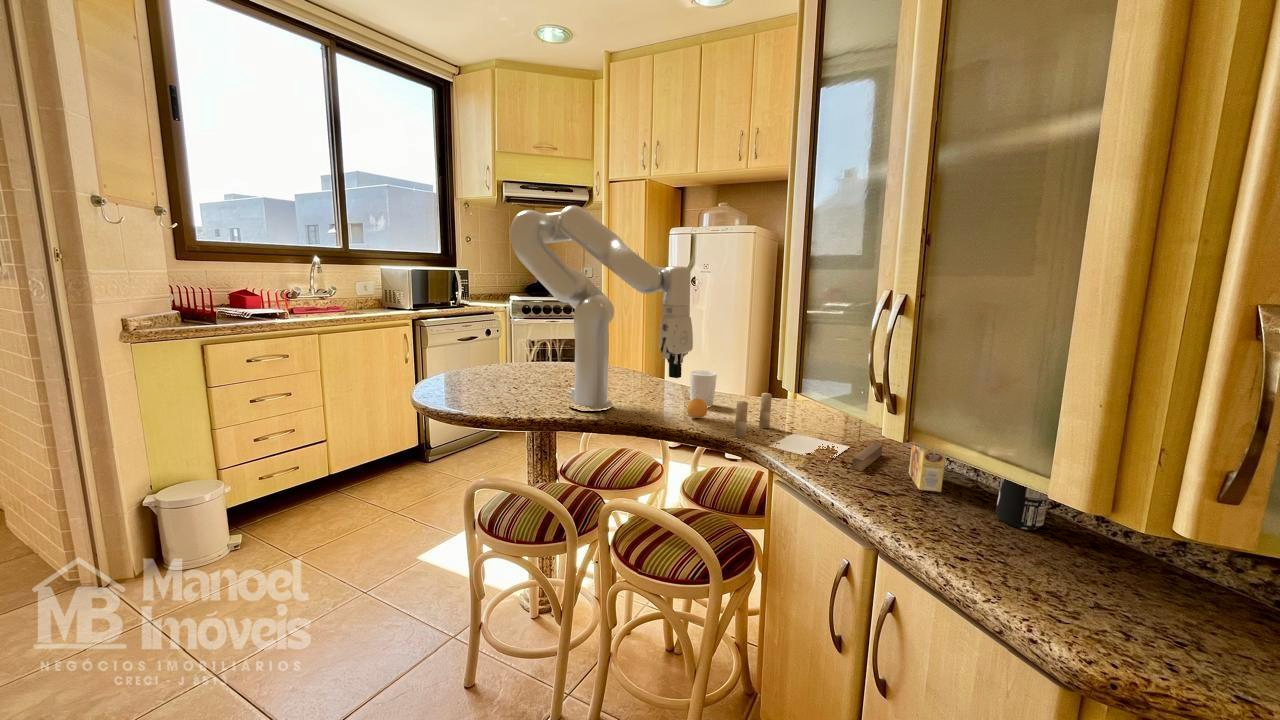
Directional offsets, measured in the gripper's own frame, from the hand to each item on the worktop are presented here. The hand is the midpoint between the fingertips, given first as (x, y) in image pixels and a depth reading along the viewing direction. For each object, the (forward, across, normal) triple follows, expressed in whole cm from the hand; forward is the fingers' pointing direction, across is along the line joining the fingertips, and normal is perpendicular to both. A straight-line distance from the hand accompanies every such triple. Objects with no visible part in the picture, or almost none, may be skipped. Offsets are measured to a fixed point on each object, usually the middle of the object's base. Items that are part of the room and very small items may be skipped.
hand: (674, 377), depth 146 cm
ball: (+8, -1, -8) cm, 11 cm away
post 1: (+11, -7, -25) cm, 28 cm away
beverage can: (+12, -12, -81) cm, 83 cm away
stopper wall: (+12, -1, -53) cm, 54 cm away
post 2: (+11, +6, -25) cm, 28 cm away
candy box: (+12, -5, -65) cm, 66 cm away
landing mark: (+11, -1, -40) cm, 42 cm away
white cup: (+11, +12, -1) cm, 16 cm away
